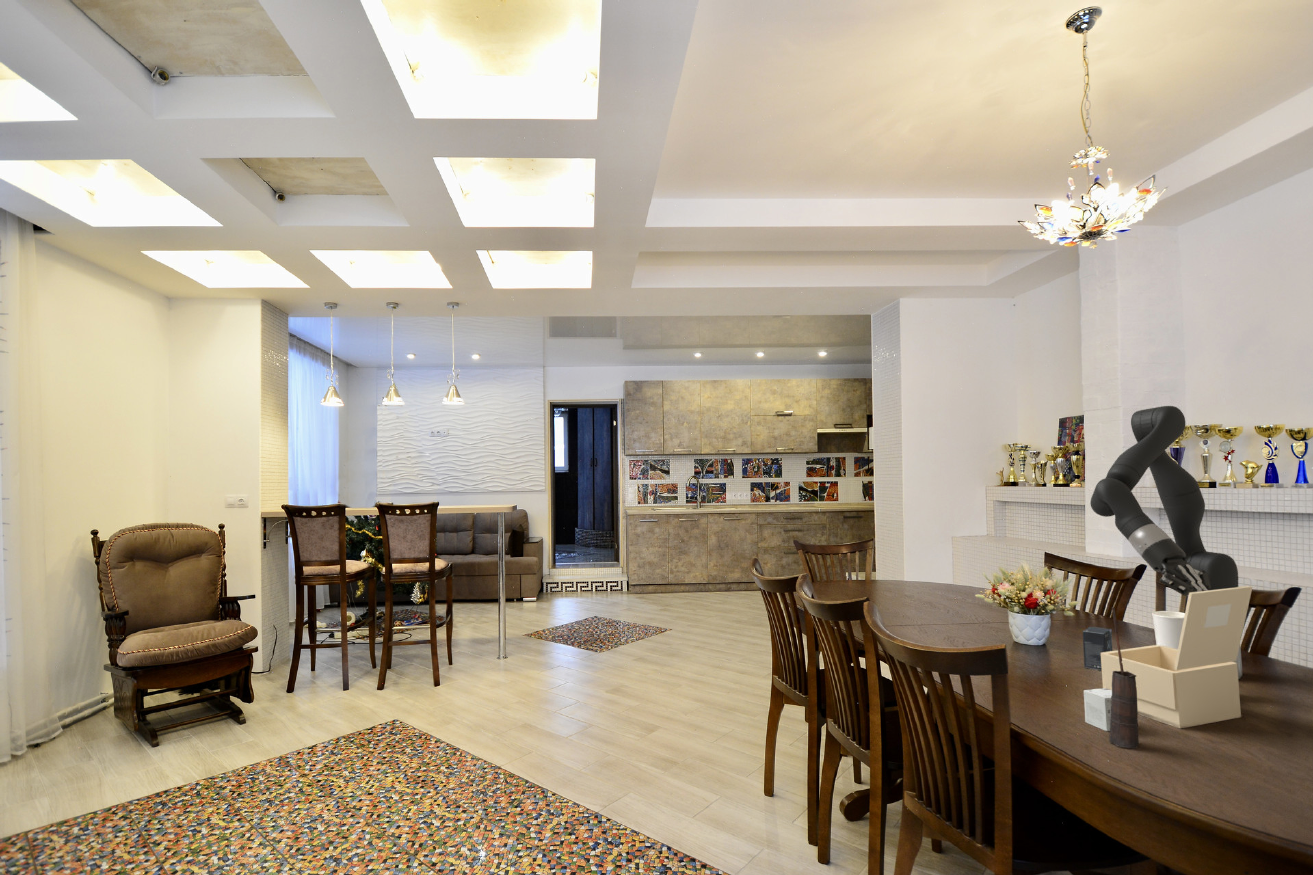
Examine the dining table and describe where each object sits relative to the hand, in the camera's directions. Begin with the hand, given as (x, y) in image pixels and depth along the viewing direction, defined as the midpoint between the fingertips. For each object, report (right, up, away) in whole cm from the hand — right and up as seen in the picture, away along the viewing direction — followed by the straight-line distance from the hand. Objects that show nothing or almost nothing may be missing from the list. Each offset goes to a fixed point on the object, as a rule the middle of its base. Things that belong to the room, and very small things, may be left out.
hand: (1213, 608), depth 152 cm
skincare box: (-23, -27, +1) cm, 35 cm away
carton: (-2, -26, +10) cm, 28 cm away
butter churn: (-26, -26, -10) cm, 38 cm away
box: (+4, -28, +45) cm, 53 cm away
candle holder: (+33, -28, +55) cm, 70 cm away
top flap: (0, -4, +1) cm, 4 cm away
